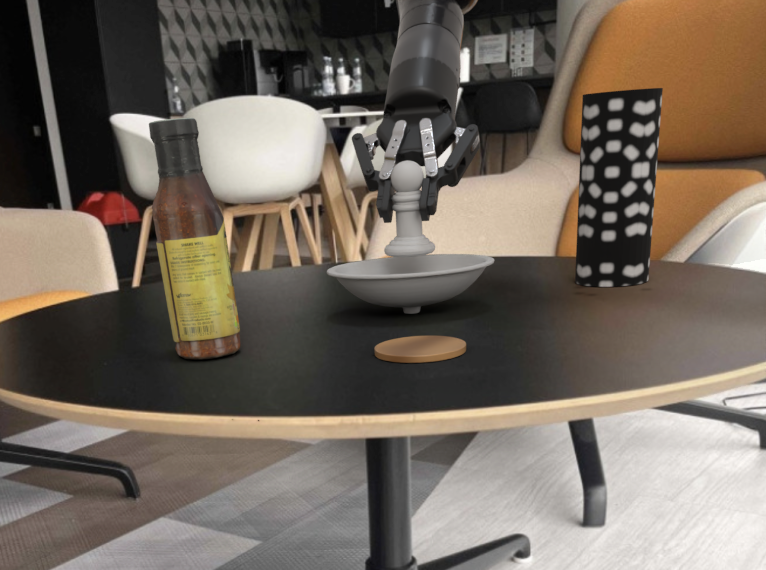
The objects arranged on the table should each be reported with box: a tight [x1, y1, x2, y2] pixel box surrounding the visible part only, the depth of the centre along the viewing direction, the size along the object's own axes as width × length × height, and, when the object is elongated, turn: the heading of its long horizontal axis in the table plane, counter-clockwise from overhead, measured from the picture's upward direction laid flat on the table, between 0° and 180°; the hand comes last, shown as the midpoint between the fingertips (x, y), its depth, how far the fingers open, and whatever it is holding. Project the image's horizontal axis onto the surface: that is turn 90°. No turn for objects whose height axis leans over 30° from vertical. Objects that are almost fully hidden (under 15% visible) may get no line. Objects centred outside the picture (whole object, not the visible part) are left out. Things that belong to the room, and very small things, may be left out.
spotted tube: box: [574, 87, 664, 288], centre depth 99 cm, size 8×8×20 cm
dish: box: [326, 253, 495, 315], centre depth 92 cm, size 18×14×5 cm
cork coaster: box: [374, 335, 467, 364], centre depth 76 cm, size 8×8×1 cm
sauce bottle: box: [148, 117, 241, 361], centre depth 77 cm, size 6×6×20 cm
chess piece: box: [383, 161, 436, 257], centre depth 89 cm, size 5×5×9 cm
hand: (405, 215), depth 88 cm, fingers closed on chess piece, 3 cm apart
